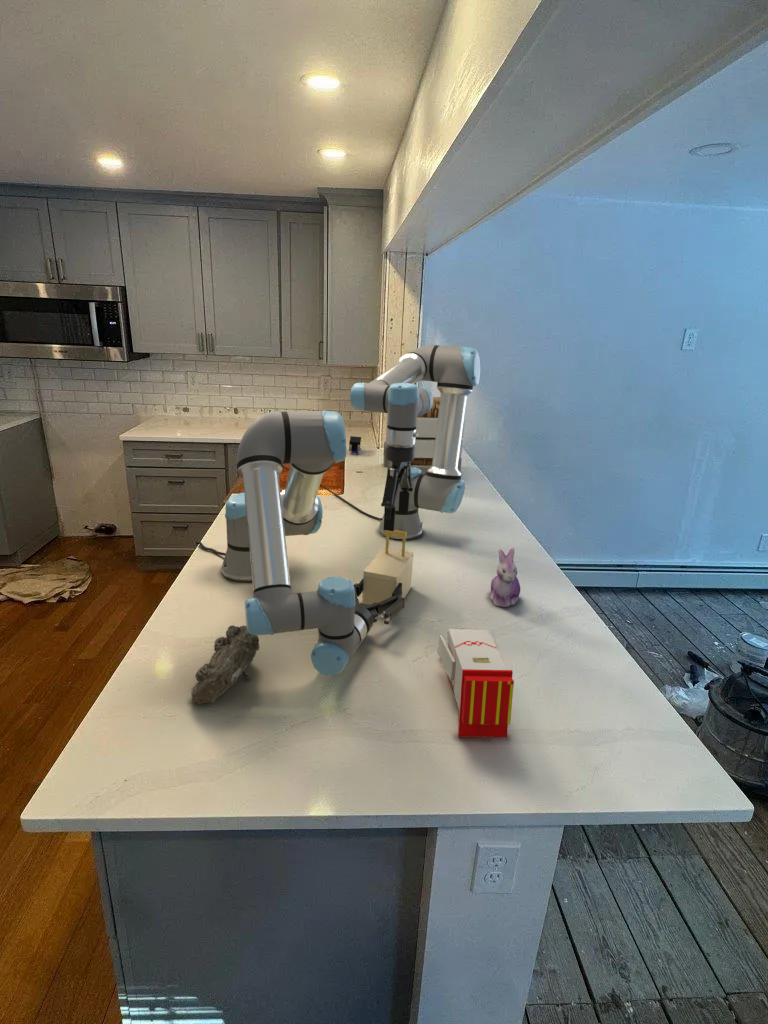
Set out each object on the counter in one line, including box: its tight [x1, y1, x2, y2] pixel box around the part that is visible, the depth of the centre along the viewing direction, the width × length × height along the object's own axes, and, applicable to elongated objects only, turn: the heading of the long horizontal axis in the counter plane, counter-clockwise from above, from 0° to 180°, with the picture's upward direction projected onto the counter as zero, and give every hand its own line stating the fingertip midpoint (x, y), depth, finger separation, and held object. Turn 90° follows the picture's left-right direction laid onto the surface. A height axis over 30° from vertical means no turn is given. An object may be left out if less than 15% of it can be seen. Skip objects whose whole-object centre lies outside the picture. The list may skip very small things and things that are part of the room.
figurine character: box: [348, 435, 362, 455], centre depth 308 cm, size 7×8×15 cm
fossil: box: [191, 624, 260, 705], centre depth 119 cm, size 22×10×15 cm
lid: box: [363, 530, 415, 581], centre depth 152 cm, size 17×9×8 cm, turn 162°
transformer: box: [383, 396, 465, 474], centre depth 268 cm, size 34×33×41 cm
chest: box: [362, 557, 414, 605], centre depth 154 cm, size 16×9×9 cm, turn 162°
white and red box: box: [437, 628, 515, 738], centre depth 117 cm, size 12×13×30 cm
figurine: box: [489, 547, 521, 608], centre depth 154 cm, size 9×10×15 cm
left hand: (383, 584), depth 149 cm, fingers closed on chest, 9 cm apart
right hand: (396, 521), depth 153 cm, fingers open, 13 cm apart
